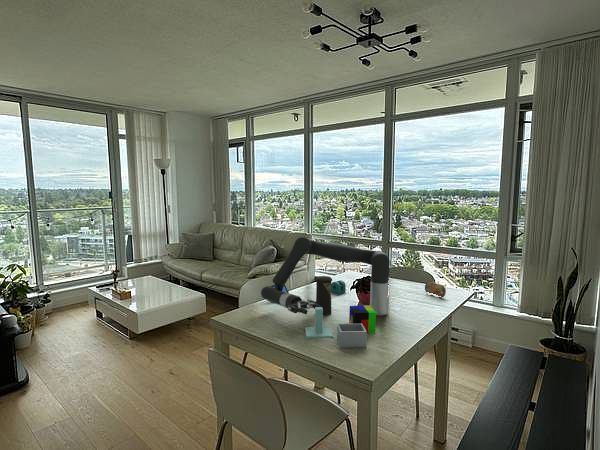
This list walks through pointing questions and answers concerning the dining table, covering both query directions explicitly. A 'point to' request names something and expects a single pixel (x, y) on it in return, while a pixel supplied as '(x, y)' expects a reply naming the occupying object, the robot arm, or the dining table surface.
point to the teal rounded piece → (338, 287)
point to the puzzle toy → (363, 317)
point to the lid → (318, 327)
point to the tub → (351, 335)
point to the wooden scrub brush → (435, 288)
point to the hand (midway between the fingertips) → (313, 310)
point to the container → (324, 293)
